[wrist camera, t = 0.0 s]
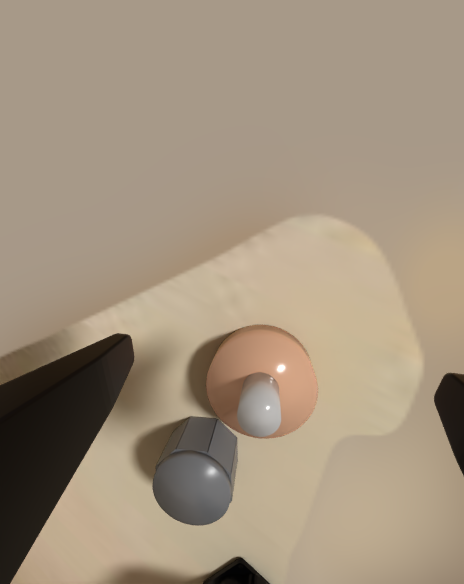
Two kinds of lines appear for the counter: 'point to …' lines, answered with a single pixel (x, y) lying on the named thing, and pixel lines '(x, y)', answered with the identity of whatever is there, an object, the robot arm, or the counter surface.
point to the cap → (197, 471)
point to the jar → (262, 382)
